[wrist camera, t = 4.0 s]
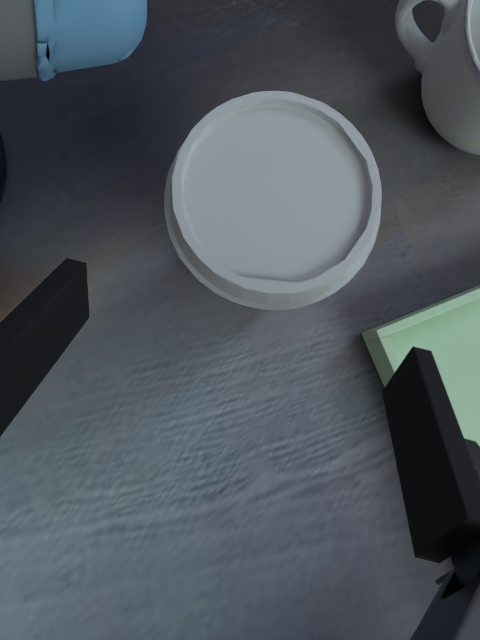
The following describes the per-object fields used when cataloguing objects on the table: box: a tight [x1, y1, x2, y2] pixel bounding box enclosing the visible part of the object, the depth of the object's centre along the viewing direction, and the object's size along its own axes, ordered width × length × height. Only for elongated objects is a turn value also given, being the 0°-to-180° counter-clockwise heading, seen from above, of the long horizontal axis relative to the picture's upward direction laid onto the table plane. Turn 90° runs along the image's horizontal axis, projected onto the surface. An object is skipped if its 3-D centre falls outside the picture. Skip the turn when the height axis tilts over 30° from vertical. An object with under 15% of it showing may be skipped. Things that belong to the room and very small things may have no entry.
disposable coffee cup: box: [164, 91, 382, 310], centre depth 21 cm, size 10×10×12 cm
